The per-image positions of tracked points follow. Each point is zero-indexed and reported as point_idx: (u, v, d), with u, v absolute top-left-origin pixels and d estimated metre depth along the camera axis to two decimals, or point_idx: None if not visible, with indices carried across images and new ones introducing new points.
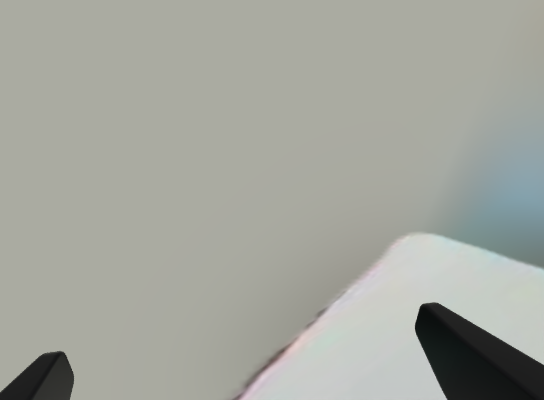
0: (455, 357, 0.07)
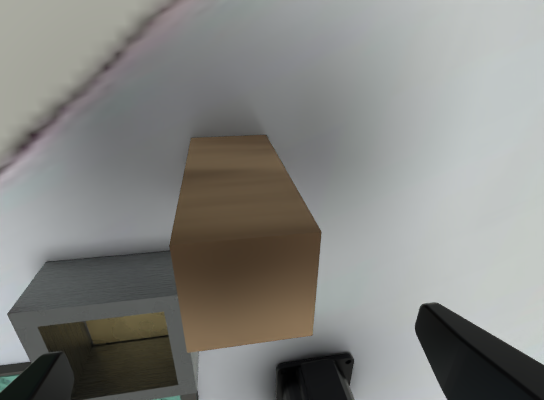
0: (455, 357, 0.07)
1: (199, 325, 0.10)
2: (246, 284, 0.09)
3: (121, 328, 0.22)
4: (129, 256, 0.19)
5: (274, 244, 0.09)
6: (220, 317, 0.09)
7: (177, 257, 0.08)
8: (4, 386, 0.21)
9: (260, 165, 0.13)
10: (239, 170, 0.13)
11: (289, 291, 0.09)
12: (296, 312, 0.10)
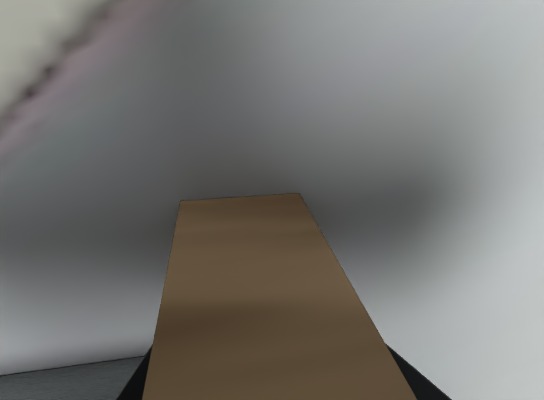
0: None
1: None
2: None
3: None
4: (89, 368, 0.13)
5: None
6: None
7: None
8: None
9: (309, 288, 0.07)
10: (269, 308, 0.06)
11: None
12: None
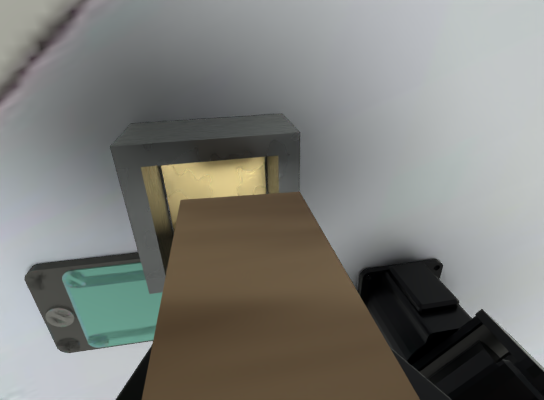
0: None
1: None
2: None
3: None
4: (221, 118, 0.17)
5: None
6: None
7: None
8: (77, 282, 0.20)
9: (310, 287, 0.07)
10: (270, 306, 0.06)
11: None
12: None
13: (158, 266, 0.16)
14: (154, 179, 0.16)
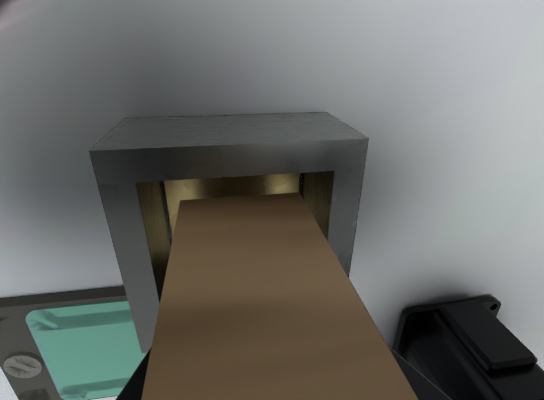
0: None
1: None
2: None
3: None
4: (247, 115, 0.13)
5: None
6: None
7: None
8: (46, 323, 0.15)
9: (309, 287, 0.07)
10: (269, 307, 0.06)
11: None
12: None
13: (155, 318, 0.12)
14: (154, 196, 0.12)
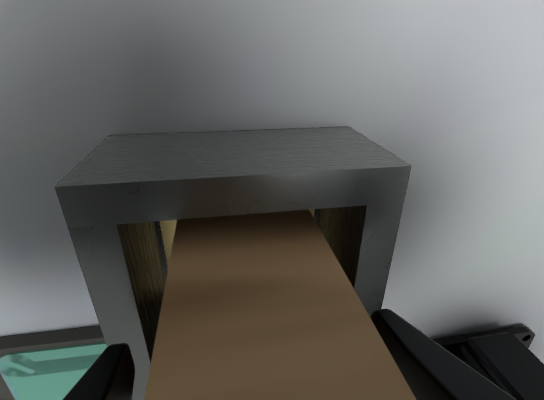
0: (400, 366, 0.07)
1: None
2: None
3: None
4: (256, 131, 0.11)
5: None
6: None
7: None
8: (21, 369, 0.13)
9: (301, 268, 0.07)
10: (265, 284, 0.07)
11: None
12: None
13: (145, 378, 0.10)
14: (144, 230, 0.10)
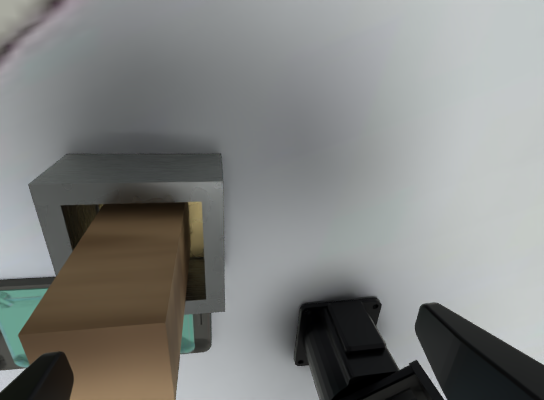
0: (455, 357, 0.07)
1: None
2: (100, 363, 0.10)
3: None
4: (159, 155, 0.17)
5: (122, 333, 0.10)
6: (79, 390, 0.10)
7: (27, 344, 0.09)
8: (4, 302, 0.19)
9: (158, 231, 0.14)
10: (134, 237, 0.14)
11: (143, 369, 0.10)
12: (154, 385, 0.11)
13: None
14: (83, 211, 0.16)
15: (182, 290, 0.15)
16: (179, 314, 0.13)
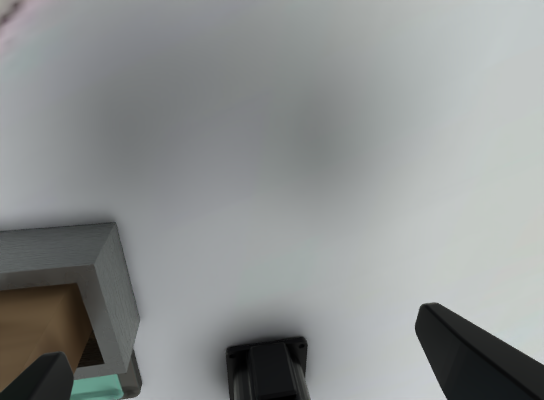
0: (455, 357, 0.07)
1: None
2: None
3: None
4: (53, 229, 0.18)
5: None
6: None
7: None
8: None
9: (32, 316, 0.15)
10: (5, 325, 0.15)
11: None
12: None
13: None
14: None
15: None
16: None
